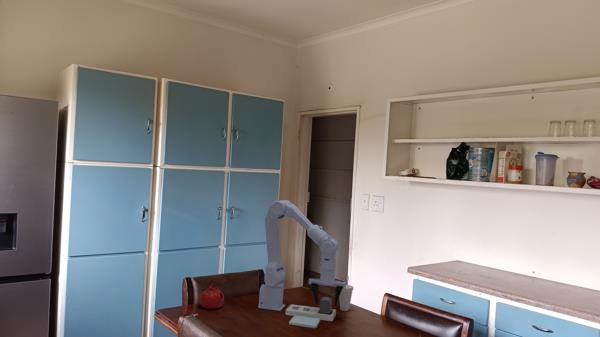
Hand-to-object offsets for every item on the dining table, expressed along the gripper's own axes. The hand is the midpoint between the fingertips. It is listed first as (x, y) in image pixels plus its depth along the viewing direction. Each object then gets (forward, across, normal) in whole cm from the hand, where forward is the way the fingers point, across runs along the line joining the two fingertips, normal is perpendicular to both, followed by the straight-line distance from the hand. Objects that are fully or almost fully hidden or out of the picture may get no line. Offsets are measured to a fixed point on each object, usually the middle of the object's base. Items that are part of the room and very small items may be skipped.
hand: (326, 304), depth 172 cm
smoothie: (+5, +6, +13) cm, 15 cm away
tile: (+5, -6, -10) cm, 13 cm away
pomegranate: (+5, -45, -7) cm, 46 cm away
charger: (+5, 0, 0) cm, 5 cm away
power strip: (+5, -5, 0) cm, 7 cm away
